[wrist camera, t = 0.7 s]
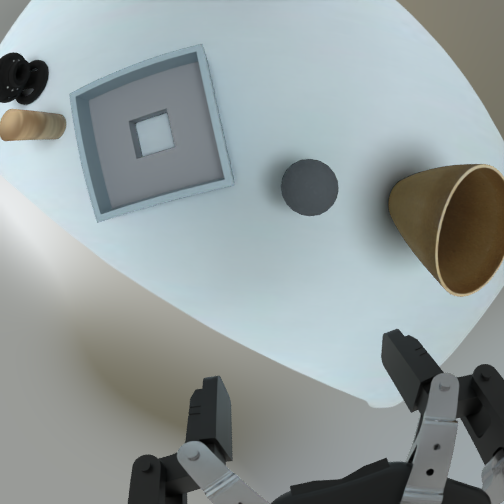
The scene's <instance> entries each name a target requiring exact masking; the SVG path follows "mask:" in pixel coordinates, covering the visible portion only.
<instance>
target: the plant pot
mask: <svg viewBox="0 0 504 504" xmlns="http://www.w3.org/2000/svg"><path fill="white" fill-rule="evenodd" d="M388 207H389V212H390V215H391V217H392V219H393V221H394V223H395V225H396V227H397V229H398V230H399V232H400V234H401V235H402V237H403V238H404V240H405V241H406V243H407V244H408V245H409V247H410V248H411V250H412V251H413V252H414V254H415V255H416V256H417V257H418V259H419V260H420V261H421V262H422V264H423V265H424V266H425V267H426V268H427V270H428V271H429V272H430V273H431V274H432V275H433V276H434V278H435V279H436V280H437V281H438V282H439V283H440V284H441V285H442V287H443V288H444V289H445V290H446V291H447V292H449V293H450V294H452V295H454V296H460V297H463V296H468V295H471V294H473V293H475V292H477V291H478V290H480V289H481V288H482V287H484V286H485V285H486V284H487V283H488V282H489V281H490V280H491V279H492V277H493V276H494V274H495V273H496V272H497V270H498V269H499V267H500V265H501V263H502V261H503V259H504V177H503V175H502V174H501V173H500V172H499V171H498V170H497V169H496V168H494V167H493V166H490V165H486V164H465V165H452V166H445V167H439V168H434V169H430V170H426V171H422V172H419V173H416V174H414V175H411V176H409V177H407V178H405V179H403V180H401V181H399V182H398V183H397V184H396V185H395V186H394V187H393V189H392V191H391V193H390V196H389V202H388Z"/></svg>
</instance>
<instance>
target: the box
mask: <svg viewBox="0 0 504 504" xmlns="http://www.w3.org/2000/svg"><path fill="white" fill-rule="evenodd" d="M70 102H71V109H72V116H73V123H74V129H75V134H76V140H77V145H78V150H79V155H80V159H81V164H82V168H83V173H84V177H85V181H86V185H87V189H88V192H89V196H90V200H91V203H92V207H93V210H94V214H95V217H96V220H97V223H98V222H101V221H104V220H108V219H111V218H114V217H117V216H120V215H124V214H127V213H130V212H134V211H137V210H140V209H144V208H147V207H151V206H154V205H158V204H161V203H165V202H169V201H172V200H176V199H180V198H184V197H188V196H192V195H196V194H200V193H204V192H208V191H212V190H216V189H220V188H225V187H229V186H233V185H234V178H233V174H232V169H231V165H230V160H229V156H228V151H227V147H226V143H225V138H224V134H223V129H222V125H221V120H220V116H219V111H218V107H217V102H216V98H215V93H214V89H213V85H212V80H211V76H210V71H209V67H208V62H207V58H206V55H205V51H204V48H203V44H199V45H195V46H191V47H187V48H184V49H180V50H176V51H173V52H170V53H166V54H163V55H160V56H157V57H154V58H151V59H148V60H145V61H142V62H140V63H137V64H134V65H132V66H129V67H126V68H124V69H121V70H119V71H116V72H114V73H112V74H109V75H107V76H105V77H103V78H100V79H98V80H96V81H94V82H92V83H90V84H88V85H86V86H84V87H82V88H80V89H78V90H76V91H74V92H72V93H70ZM167 112H168V117H169V122H170V126H171V131H172V136H173V140H174V144H175V147H174V148H170V149H167V150H164V151H160V152H157V153H154V154H151V155H148V156H144V157H142V152H141V148H140V144H139V139H138V134H137V130H136V125H135V123H137V122H140V121H142V120H145V119H148V118H151V117H154V116H157V115H161V114H164V113H167Z"/></svg>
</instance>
